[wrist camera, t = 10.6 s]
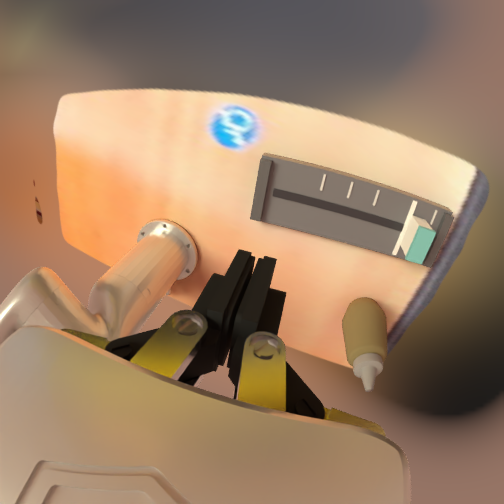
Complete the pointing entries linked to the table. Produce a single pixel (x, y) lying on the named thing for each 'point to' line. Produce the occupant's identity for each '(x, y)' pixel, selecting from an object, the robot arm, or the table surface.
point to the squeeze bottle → (365, 339)
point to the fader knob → (417, 240)
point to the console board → (342, 206)
